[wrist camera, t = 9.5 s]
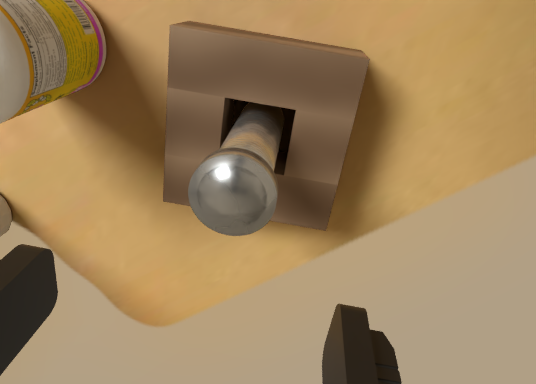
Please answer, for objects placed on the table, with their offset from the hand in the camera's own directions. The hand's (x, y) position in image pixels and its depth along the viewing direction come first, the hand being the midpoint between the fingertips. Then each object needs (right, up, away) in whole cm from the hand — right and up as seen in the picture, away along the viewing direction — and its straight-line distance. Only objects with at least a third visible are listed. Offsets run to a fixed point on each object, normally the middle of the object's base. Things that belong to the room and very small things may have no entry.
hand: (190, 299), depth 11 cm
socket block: (+2, +8, +17) cm, 19 cm away
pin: (+2, +8, +17) cm, 19 cm away
